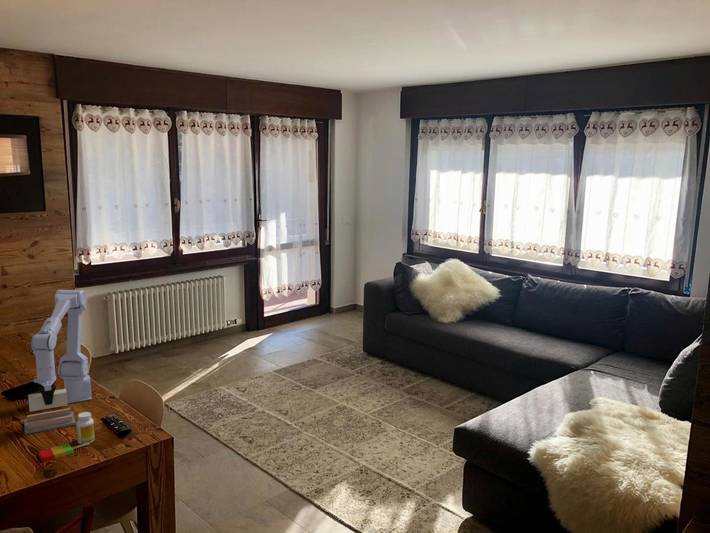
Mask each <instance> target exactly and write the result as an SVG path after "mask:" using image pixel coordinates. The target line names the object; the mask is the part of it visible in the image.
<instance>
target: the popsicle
mask: <svg viewBox="0 0 710 533" xmlns="http://www.w3.org/2000/svg"><path fill="white" fill-rule="evenodd" d="M88 445H91V443H85V444H79V445H75V446H72V447H71V445H70V443H69V442H68V443H64V444H61V445H58V446H53V447H50V448H47V449H43V450H40V451H39V453H38V455H39V459H40V461H41V462H49V461H53V460H55V459H59V458H63V457H66V456H69V455H72V454H74V450H75V449H79V448H83V447H84V446H88Z"/></svg>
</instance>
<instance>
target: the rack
mask: <svg viewBox="0 0 710 533" xmlns="http://www.w3.org/2000/svg"><path fill="white" fill-rule="evenodd" d="M26 418H27V419H24V420H23V423H24V435H28V434H33V433H39V432H46V431H50V430H56V429H61V428H65V427H71V426H76V423H77V421H76V418H75V414H74V411H73V410H71V408H70V407H68V408H64V409H63V408H62V409H57V410H51V411H46V412H45V411H44V412H40V413H34V414H29V415H27V416H26Z"/></svg>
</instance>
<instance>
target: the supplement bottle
mask: <svg viewBox="0 0 710 533" xmlns="http://www.w3.org/2000/svg"><path fill="white" fill-rule="evenodd" d="M77 419H78V420H76V425H75V426H76V438H77V439H76V440H77V443H78V444H79V445H82V444H85V443H90V444H91V443H92V442H94V441H95V436H96V435H95V426H94V424H95V422H94V419H93V418H92V413H91V412H90V411H83V412H80V413H78V415H77Z"/></svg>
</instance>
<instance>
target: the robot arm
mask: <svg viewBox="0 0 710 533" xmlns="http://www.w3.org/2000/svg"><path fill="white" fill-rule="evenodd" d="M54 304H55V305H54V308H53V310H52V313H51V315H50V317H48V318H46V319H44V320H45V321H44V323H43V324H42V325H41V328H40V329H39V331H38V333H37V334H34V335H33V336H32V338H31V342H30V347H31V349H32V352H33V353H32V354H33V356H35V363H36V364H35V366H36V378H33V383H35V384H36V383H37V385H38V388H37V389H38V391H39V393H41V394H42V396H43V399H44V403H45V405H51V404H52V402H53V395H54V392H55V390H57V385H56V384H55V383H56V380H57V375H56V367H55V353H54V349H55V348H56V347H57V340H58V337H57V336H58V334H59V332H60V330H61V328H62V327H63V324H62V319H63V318H64V317H65V315H66V313H67V315H68V316H67V332H66V336H67V337H66V353H65V354H63V356H61V357H60V359H59V363H58V368H57V373H58V375H59V377H60V378H62V380H63V383H64V384H63V385H64V389H66V392H67V404H71V403H72V404H73V403H78V402H84V401H89V400H92V391H93V390H92V386H91V377H90V374H89V370H90V369H89V368H90V366H89V365H90V364H89V360H88V359H89V358H88V357H87V356H86V355H85V354H83V353H82V352H81V348H82V347H81V345H82V325H83V324H82V322H83V312H85V311H86V309H87V294H86V292H85V290H83V289H78V290H77V289H58V290H56V292H55V294H54Z"/></svg>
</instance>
